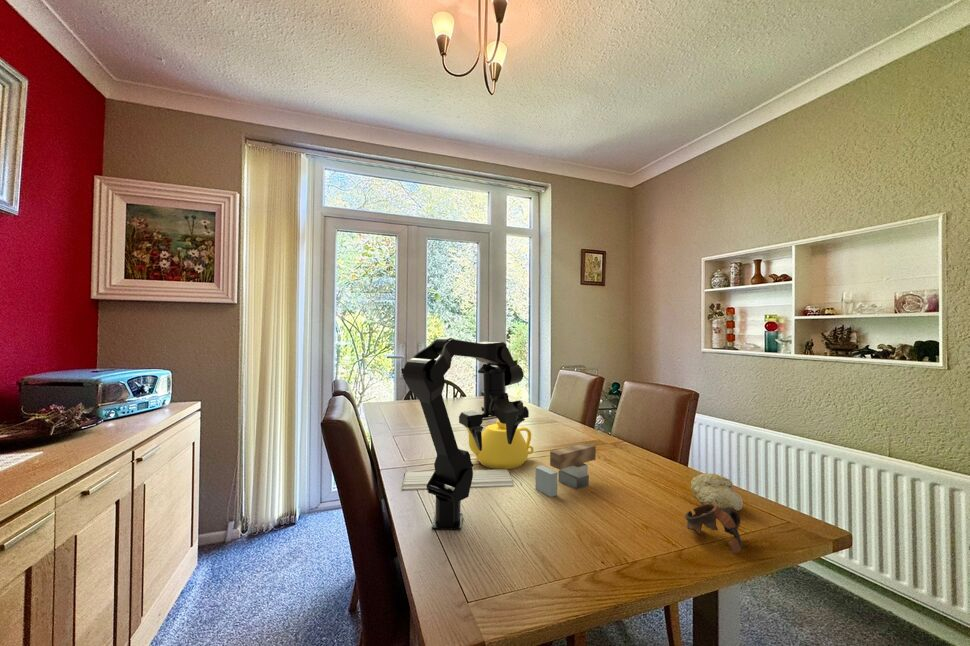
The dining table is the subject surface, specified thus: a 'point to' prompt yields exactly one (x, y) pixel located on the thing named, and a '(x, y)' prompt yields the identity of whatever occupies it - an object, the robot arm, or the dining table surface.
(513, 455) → the teapot
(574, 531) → the dining table surface
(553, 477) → the light gray rectangular block
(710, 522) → the dark curved fragment
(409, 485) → the baseboard molding
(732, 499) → the decorative item
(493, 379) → the robot arm
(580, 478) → the grey stepped block
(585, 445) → the batten
